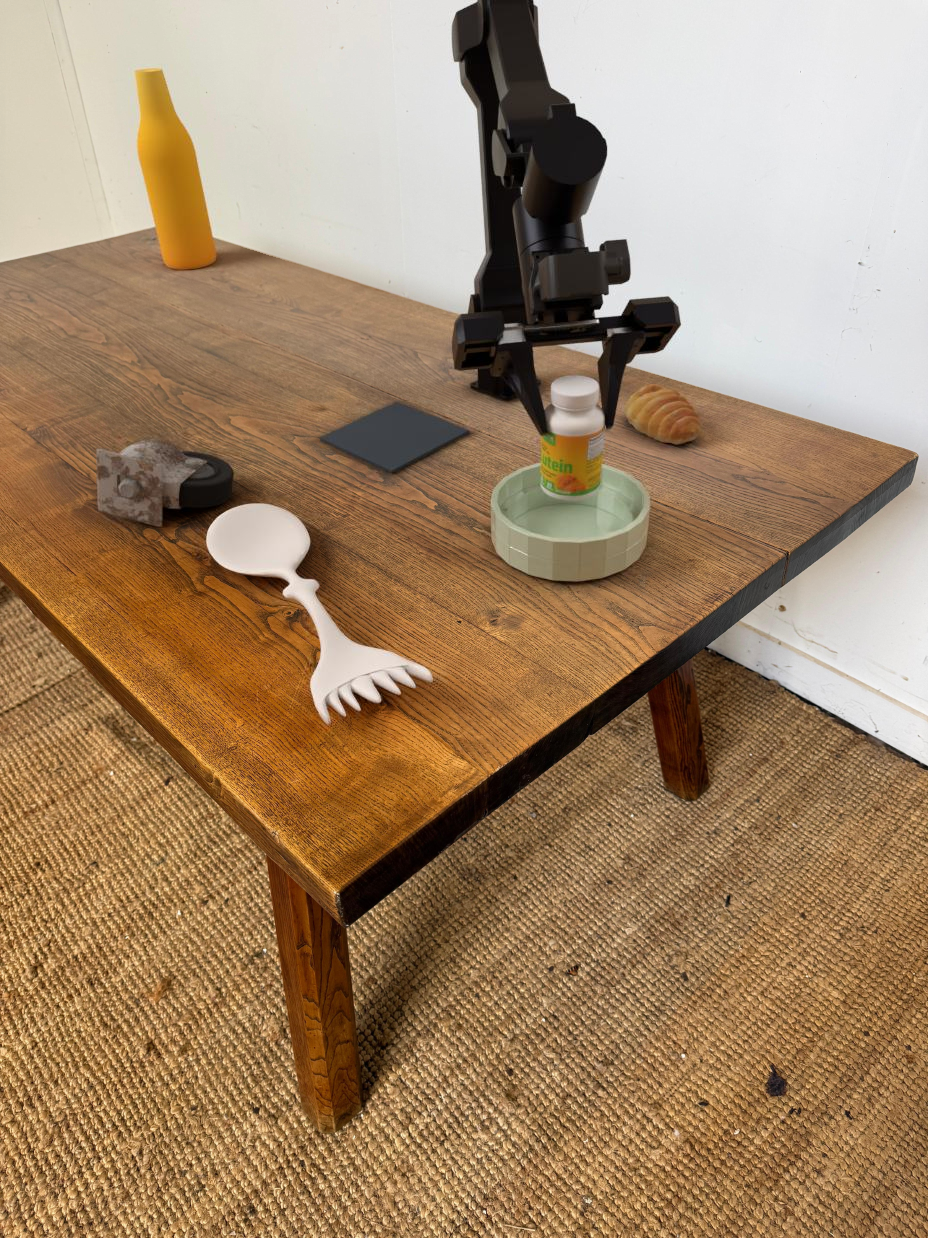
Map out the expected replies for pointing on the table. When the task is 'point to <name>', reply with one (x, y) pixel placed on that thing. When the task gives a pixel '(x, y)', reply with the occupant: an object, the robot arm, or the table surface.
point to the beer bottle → (172, 177)
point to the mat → (394, 436)
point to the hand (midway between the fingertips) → (576, 431)
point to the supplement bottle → (572, 440)
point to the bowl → (569, 526)
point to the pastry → (663, 415)
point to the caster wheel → (159, 480)
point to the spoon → (307, 605)
